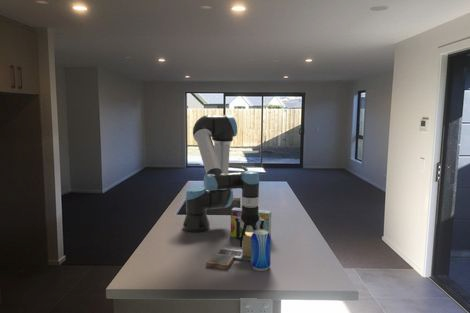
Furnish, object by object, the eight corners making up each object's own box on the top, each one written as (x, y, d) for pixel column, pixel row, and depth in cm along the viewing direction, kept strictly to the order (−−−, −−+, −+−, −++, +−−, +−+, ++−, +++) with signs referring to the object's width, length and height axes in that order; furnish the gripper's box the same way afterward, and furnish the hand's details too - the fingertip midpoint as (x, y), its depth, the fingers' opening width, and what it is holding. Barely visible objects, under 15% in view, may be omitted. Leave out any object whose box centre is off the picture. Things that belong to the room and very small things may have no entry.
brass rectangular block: (243, 258, 161) (243, 235, 159) (245, 254, 166) (245, 231, 164) (253, 259, 159) (254, 236, 158) (255, 255, 164) (256, 232, 163)
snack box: (271, 238, 187) (271, 210, 185) (268, 242, 181) (269, 213, 179) (233, 233, 193) (233, 206, 191) (229, 236, 188) (230, 209, 186)
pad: (205, 266, 152) (205, 262, 152) (213, 257, 162) (213, 253, 161) (228, 269, 150) (228, 264, 149) (234, 259, 159) (234, 255, 159)
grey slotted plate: (216, 257, 162) (216, 255, 162) (222, 249, 170) (222, 247, 170) (260, 262, 157) (260, 260, 157) (264, 254, 165) (264, 252, 165)
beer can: (249, 263, 156) (250, 228, 154) (268, 262, 157) (269, 228, 154) (252, 272, 148) (252, 235, 145) (271, 271, 148) (272, 235, 146)
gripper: (228, 206, 158) (228, 255, 161) (268, 209, 153) (267, 260, 156) (233, 201, 165) (232, 249, 168) (271, 204, 160) (270, 253, 164)
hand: (249, 254), depth 162 cm, fingers closed on brass rectangular block, 5 cm apart
